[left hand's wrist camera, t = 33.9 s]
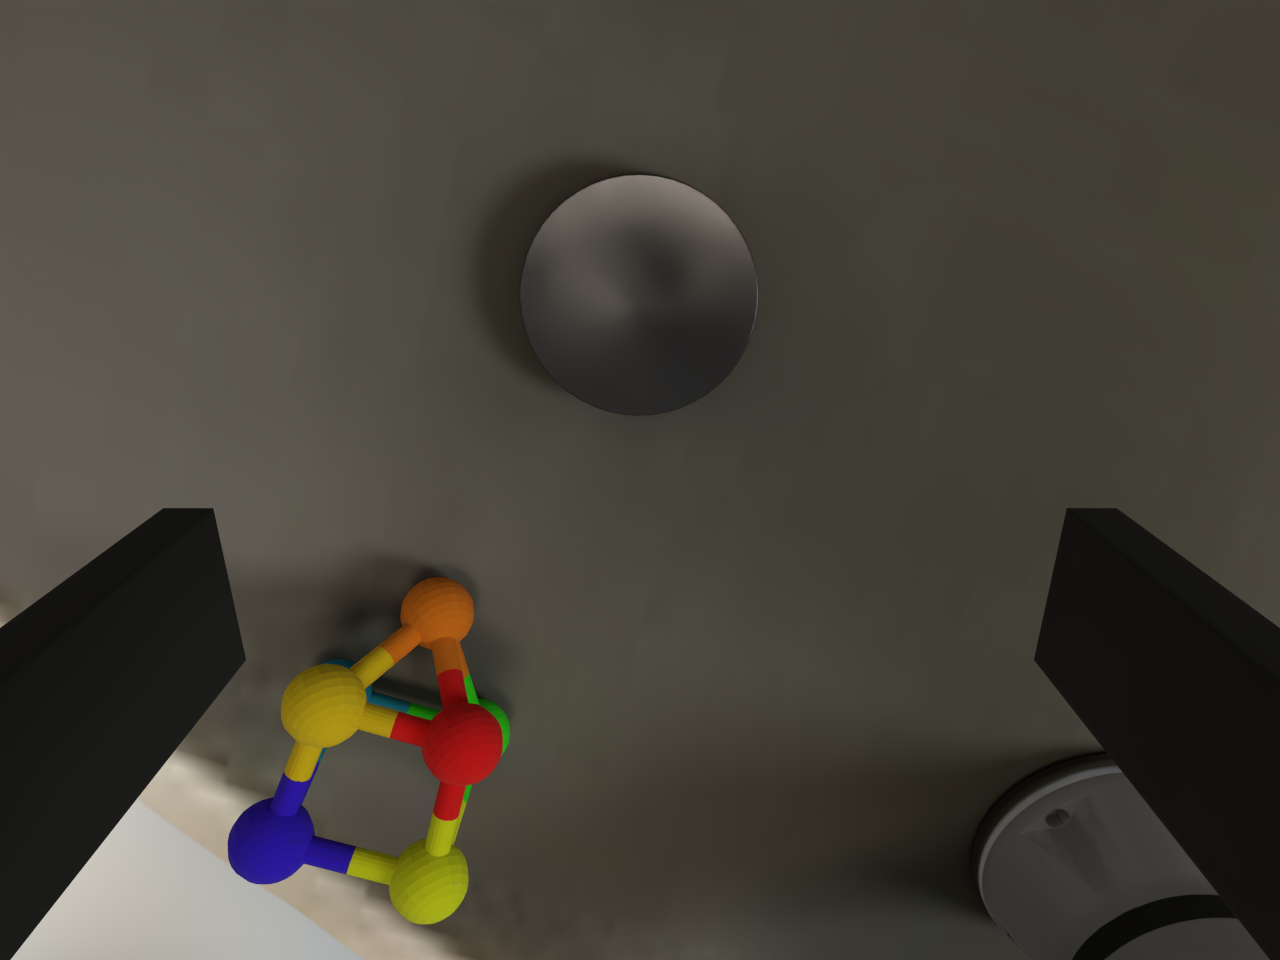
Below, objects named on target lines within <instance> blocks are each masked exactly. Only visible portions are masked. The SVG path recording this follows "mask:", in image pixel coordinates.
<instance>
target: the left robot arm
mask: <svg viewBox="0 0 1280 960" xmlns="http://www.w3.org/2000/svg"><path fill="white" fill-rule="evenodd" d="M245 660H246V658H245V653H244V649H243V644H242V639H241V635H240V630H239V625H238V621H237V616H236V612H235V607H234V602H233V598H232V593H231V589H230V584H229V579H228V575H227V570H226V565H225V561H224V556H223V552H222V547H221V542H220V538H219V533H218V528H217V524H216V519H215V515H214V510H213V508H163V509H162V510H160V511H159V512H158V513H156V514H155V515H154V516H152V517H151V518H150V519H148V520H147V521H145V522H144V523H143V524H141V525H140V526H139V527H137V528H136V529H135V530H133V531H132V532H130V533H129V534H128V535H126V536H125V537H124V538H122V539H121V540H120V541H118V542H117V543H115V544H114V545H113V546H111V547H110V548H109V549H107V550H106V551H105V552H103V553H102V554H100V555H99V556H98V557H96V558H95V559H94V560H92V561H91V562H90V563H88V564H87V565H86V566H84V567H83V568H81V569H80V570H79V571H77V572H76V573H75V574H73V575H72V576H71V577H69V578H68V579H66V580H65V581H64V582H62V583H61V584H60V585H58V586H57V587H56V588H54V589H53V590H51V591H50V592H49V593H47V594H46V595H45V596H43V597H42V598H41V599H39V600H38V601H36V602H35V603H34V604H32V605H31V606H30V607H28V608H27V609H26V610H24V611H23V612H21V613H20V614H19V615H17V616H16V617H15V618H13V619H12V620H11V621H9V622H8V623H6V624H5V625H4V626H2V627H1V628H0V960H10V959H11V958H12V957H13V956H14V954H15V953H16V952H17V950H18V949H19V948H20V947H21V945H22V944H23V943H24V942H25V940H26V939H27V938H28V937H29V935H30V934H31V933H32V931H33V930H34V929H35V928H36V926H37V925H38V924H39V923H40V921H41V920H42V919H43V917H44V916H45V915H46V914H47V912H48V911H49V910H50V909H51V907H52V906H53V905H54V903H55V902H56V901H57V900H58V898H59V897H60V896H61V895H62V893H63V892H64V891H65V889H66V888H67V887H68V886H69V884H70V883H71V882H72V880H73V879H74V878H75V877H76V875H77V874H78V873H79V872H80V870H81V869H82V868H83V867H84V865H85V864H86V863H87V861H88V860H89V859H90V858H91V856H92V855H93V854H94V852H95V851H96V850H97V849H98V847H99V846H100V845H101V844H102V842H103V841H104V840H105V839H106V837H107V836H108V835H109V833H110V832H111V831H112V830H113V828H114V827H115V826H116V825H117V823H118V822H119V821H120V819H121V818H122V817H123V816H124V814H125V813H126V812H127V811H128V809H129V808H130V807H131V805H132V804H133V803H134V802H135V800H136V799H137V798H138V797H139V795H140V794H141V793H142V791H143V790H144V789H145V788H146V786H147V785H148V784H149V783H150V781H151V780H152V779H153V777H154V776H155V775H156V774H157V772H158V771H159V770H160V769H161V767H162V766H163V765H164V763H165V762H166V761H167V760H168V758H169V757H170V756H171V755H172V753H173V752H174V751H175V749H176V748H177V747H178V746H179V744H180V743H181V742H182V741H183V739H184V738H185V737H186V735H187V734H188V733H189V732H190V730H191V729H192V728H193V727H194V725H195V724H196V723H197V721H198V720H199V719H200V718H201V716H202V715H203V714H204V713H205V711H206V710H207V709H208V707H209V706H210V705H211V704H212V702H213V701H214V700H215V699H216V697H217V696H218V695H219V693H220V692H221V691H222V690H223V688H224V687H225V686H226V685H227V683H228V682H229V681H230V679H231V678H232V677H233V676H234V674H235V673H236V672H237V671H238V669H239V668H240V667H241V665H242V664H243V663H244V662H245ZM1034 660H1035V662H1036V663H1037V664H1038V665H1039V667H1040V668H1041V669H1042V671H1043V672H1044V673H1045V674H1046V676H1047V677H1048V678H1049V679H1050V681H1051V682H1052V683H1053V685H1054V686H1055V687H1056V688H1057V690H1058V691H1059V692H1060V693H1061V695H1062V696H1063V697H1064V699H1065V700H1066V701H1067V702H1068V704H1069V705H1070V706H1071V707H1072V709H1073V710H1074V711H1075V713H1076V714H1077V715H1078V716H1079V718H1080V719H1081V720H1082V721H1083V723H1084V724H1085V725H1086V727H1087V728H1088V729H1089V730H1090V732H1091V733H1092V734H1093V735H1094V737H1095V738H1096V739H1097V741H1098V742H1099V743H1100V744H1101V746H1102V747H1103V748H1104V749H1105V751H1106V752H1107V753H1108V754H1097V755H1090V756H1085V757H1080V758H1076V759H1073V760H1069V761H1066V762H1063V763H1060V764H1057V765H1055V766H1052V767H1050V768H1048V769H1045V770H1043V771H1041V772H1039V773H1037V774H1035V775H1034V776H1032V777H1030V778H1028V779H1027V780H1025V781H1024V782H1022V783H1021V784H1019V785H1018V786H1016V787H1015V788H1014V789H1013V790H1011V791H1010V792H1009V793H1008V794H1007V795H1006V796H1004V797H1003V798H1002V799H1001V800H1000V801H999V802H998V803H997V804H996V806H995V807H994V808H993V809H992V810H991V812H990V813H989V814H988V816H987V817H986V819H985V820H984V822H983V823H982V825H981V827H980V829H979V831H978V833H977V836H976V839H975V842H974V845H973V850H972V858H971V866H972V874H973V878H974V881H975V885H976V887H977V889H978V891H979V893H980V895H981V898H982V900H983V902H984V904H985V906H986V908H987V910H988V912H989V914H990V916H991V917H992V919H993V920H994V921H995V922H996V923H997V925H998V926H999V928H1000V929H1001V930H1002V931H1003V932H1004V933H1005V934H1006V935H1007V936H1008V937H1009V938H1010V939H1011V940H1012V941H1013V942H1014V943H1015V944H1016V945H1018V946H1019V947H1020V948H1021V949H1022V951H1023V952H1024V953H1025V954H1026V955H1027V956H1028V957H1029V959H1030V960H1280V628H1279V627H1278V626H1276V625H1275V624H1274V623H1272V622H1271V621H1269V620H1268V619H1267V618H1265V617H1264V616H1263V615H1261V614H1260V613H1259V612H1257V611H1256V610H1254V609H1253V608H1252V607H1250V606H1249V605H1248V604H1246V603H1245V602H1244V601H1242V600H1241V599H1239V598H1238V597H1237V596H1235V595H1234V594H1233V593H1231V592H1230V591H1229V590H1227V589H1226V588H1224V587H1223V586H1222V585H1220V584H1219V583H1218V582H1216V581H1215V580H1214V579H1212V578H1211V577H1209V576H1208V575H1207V574H1205V573H1204V572H1203V571H1201V570H1200V569H1199V568H1197V567H1196V566H1194V565H1193V564H1192V563H1190V562H1189V561H1188V560H1186V559H1185V558H1184V557H1182V556H1181V555H1180V554H1178V553H1177V552H1175V551H1174V550H1173V549H1171V548H1170V547H1169V546H1167V545H1166V544H1165V543H1163V542H1162V541H1160V540H1159V539H1158V538H1156V537H1155V536H1154V535H1152V534H1151V533H1150V532H1148V531H1147V530H1145V529H1144V528H1143V527H1141V526H1140V525H1139V524H1137V523H1136V522H1135V521H1133V520H1132V519H1130V518H1129V517H1128V516H1126V515H1125V514H1124V513H1122V512H1121V511H1120V510H1118V509H1117V508H1067V510H1066V515H1065V519H1064V524H1063V528H1062V533H1061V538H1060V542H1059V547H1058V552H1057V556H1056V561H1055V565H1054V570H1053V575H1052V579H1051V584H1050V589H1049V593H1048V598H1047V602H1046V607H1045V612H1044V616H1043V621H1042V625H1041V630H1040V635H1039V639H1038V644H1037V649H1036V653H1035V658H1034Z"/></svg>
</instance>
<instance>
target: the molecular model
mask: <svg viewBox="0 0 1280 960" xmlns="http://www.w3.org/2000/svg"><path fill="white" fill-rule="evenodd" d="M400 620H401V623H402V627H401V628H399V629H398V630H397V631H396V632H394V633H393V634H392V635H391V636H389V637H388V638H387V639H386V640H384V641H383V642H382V643H381V644H379V645H378V646H377V647H376V648H374V649H373V650H372V651H371V652H369V653H368V654H367V655H366V656H364V657H363V658H362V659H361V660H359V661H358V662H357V663H355V662H353V661H351V660H344V659H334V660H329V661H326V662H324V663H322V664H320V665H315V666H312V667H310V668H308V669H305V670H304V671H302V672H301V673H300V674H298V675H297V676H296V677H295V678H294V679H293V680H292V681H291V682H290V684H289V685H288V687H287V688H286V690H285V692H284V694H283V696H282V702H281V719H282V723H283V725H284V727H285V729H286V730H287V731H288V732H289V734H290V735H291V736H292V737H293V738H294V739H295V740H296V742H295V744H294V747H293V749H292V752H291V755H290V757H289V760H288V762H287V765H286V767H285V770H284V772H283V775H282V778H281V780H280V783H279V785H278V788H277V790H276V793H275V795H274V798H269V799H265V800H262V801H260V802H257V803H255V804H254V805H252V806H251V807H249V808H248V809H247V810H245V811H244V812H243V813H242V814H241V815H240V817H239V818H238V819H237V821H236V822H235V824H234V825H233V827H232V829H231V831H230V833H229V838H228V858H229V862H230V864H231V867H232V868H233V869H234V871H235V872H236V873H237V874H238V875H240V876H241V877H243V878H244V879H246V880H247V881H249V882H251V883H255V884H272V883H277V882H280V881H282V880H284V879H286V878H288V877H289V876H291V875H293V874H294V873H295V872H296V871H297V870H298V869H299V868H300V867H301V866H302V865H303V864H308V865H312V866H315V867H319V868H323V869H327V870H331V871H335V872H339V873H343V874H347V875H351V876H355V877H359V878H363V879H367V880H371V881H375V882H379V883H383V884H387V885H389V894H390V898H391V901H392V903H393V905H394V907H395V909H396V910H397V911H398V912H399V913H400V914H401V915H402V916H403V917H404V918H406V919H407V920H409V921H410V922H413V923H416V924H433V923H436V922H439V921H441V920H443V919H445V918H446V917H448V916H449V915H451V914H452V913H453V912H454V911H455V910H456V909H457V908H458V906H459V905H460V903H461V902H462V900H463V899H464V896H465V894H466V892H467V888H468V882H469V881H468V866H467V863H466V859H465V857H464V855H463V854H462V852H461V851H460V850H459V849H458V848H457V847H456V846H455V845H454V842H455V839H456V836H457V832H458V829H459V826H460V823H461V819H462V816H463V813H464V810H465V806H466V803H467V800H468V797H469V793H470V790H471V787H472V784H475V783H477V782H479V781H481V780H483V779H484V778H486V777H487V776H488V775H489V774H490V773H491V772H492V771H493V770H494V768H495V767H496V765H497V763H498V762H499V759H500V757H501V756H502V754H503V753H504V751H505V750H506V748H507V745H508V743H509V739H510V724H509V720H508V717H507V715H506V714H505V712H504V711H503V710H502V709H501V708H500V707H499V706H497V705H496V704H495V703H494V702H492V701H490V700H487V699H479V698H477V695H476V692H475V689H474V686H473V683H472V680H471V676H470V673H469V670H468V667H467V664H466V661H465V657H464V654H463V651H462V648H461V645H460V641H461V640H462V639H463V638H464V637H465V636H466V635H467V633H468V632H469V630H470V628H471V626H472V624H473V620H474V607H473V601H472V598H471V596H470V594H469V593H468V592H467V591H466V590H465V588H464V587H463V586H462V585H461V584H459V583H458V582H457V581H454V580H451V579H448V578H444V577H435V578H428V579H426V580H423V581H421V582H419V583H418V584H416V585H415V586H414V587H412V588H411V590H410V591H409V592H408V594H407V595H406V597H405V598H404V600H403V603H402V608H401V619H400ZM417 645H420V646H422V647H425V648H427V649H432V652H433V658H434V663H435V669H436V674H437V680H438V685H439V690H440V696H441V701H442V707H443V710H442V711H440V710H436V709H432V708H429V707H425V706H422V705H418V704H415V703H411V702H408V701H404V700H401V699H397V698H393V697H390V696H386V695H383V694H379V693H376V692H373V687H372V683H373V682H374V681H375V680H377V679H378V678H379V677H380V676H381V675H383V674H384V673H385V672H386V671H387V670H389V669H390V668H391V667H392V666H393V665H395V664H396V663H397V662H398V661H399V660H401V659H402V658H403V657H404V656H405V655H407V654H408V653H409V652H410V651H411V650H413V649H414V648H415V647H416V646H417ZM357 729H359V730H362V731H366V732H369V733H373V734H377V735H380V736H384V737H388V738H391V739H395V740H398V741H402V742H406V743H409V744H413V745H417V746H420V747H422V754H423V758H424V761H425V763H426V764H427V766H428V768H429V769H430V771H431V772H432V774H433V775H434V776H435V777H436V778H437V779H438V780H440V785H439V789H438V793H437V797H436V801H435V805H434V809H433V813H432V817H431V821H430V825H429V830H428V834H427V838H426V839H422V840H419V841H417V842H415V843H413V844H411V845H410V846H409V847H407V848H406V849H405V850H404V851H403V852H402V853H401V855H400V856H399V857H395V856H391V855H387V854H383V853H379V852H375V851H371V850H368V849H364V848H360V847H356V846H352V845H348V844H344V843H340V842H336V841H333V840H329V839H325V838H321V837H317V836H314V835H315V833H314V826H313V823H312V820H311V818H310V816H309V813H308V811H307V810H306V809H305V808H304V807H303V806H302V803H303V800H304V798H305V796H306V793H307V791H308V789H309V787H310V784H311V782H312V780H313V777H314V775H315V773H316V770H317V768H318V766H319V764H320V761H321V759H322V757H323V754H324V752H325V750H326V747H331V746H334V745H337V744H340V743H341V742H343V741H345V740H346V739H348V738H350V737H351V736H352V735H353V734H354V733H355V732H356V731H357Z"/></svg>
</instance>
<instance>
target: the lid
mask: <svg viewBox="0 0 1280 960" xmlns="http://www.w3.org/2000/svg"><path fill="white" fill-rule="evenodd" d="M520 306H521V315H522V320H523V324H524V328H525V332H526V334H527V337H528V340H529V342H530V345H531V347H532V349H533V351H534V352H535V354H536V356H537V358H538V360H539V361H540V362H541V364H542V365H543V367H544V368H545V370H546V371H547V372H548V373H549V374H550V375H551V376H552V378H553V379H554V380H555V381H556V382H557V383H558V384H559V385H561V386H562V387H563V388H564V389H565V390H567V391H568V392H569V393H571V394H572V395H574V396H575V397H577V398H578V399H580V400H581V401H583V402H586V403H588V404H590V405H592V406H594V407H597V408H600V409H602V410H605V411H608V412H613V413H618V414H624V415H637V416H639V415H654V414H660V413H665V412H669V411H672V410H676V409H679V408H682V407H684V406H686V405H688V404H691V403H693V402H695V401H696V400H698V399H700V398H701V397H703V396H705V395H706V394H708V393H709V392H710V391H711V390H713V389H714V388H715V387H716V386H718V385H719V384H720V383H721V382H722V381H723V380H724V379H725V378H726V377H727V376H728V374H729V373H730V372H731V371H732V369H733V368H734V367H735V365H736V364H737V363H738V361H739V360H740V358H741V356H742V354H743V353H744V351H745V349H746V347H747V344H748V342H749V340H750V337H751V335H752V331H753V328H754V324H755V320H756V314H757V306H758V283H757V276H756V270H755V266H754V262H753V258H752V255H751V253H750V250H749V248H748V245H747V243H746V241H745V239H744V237H743V235H742V234H741V232H740V230H739V229H738V227H737V226H736V224H735V223H734V222H733V220H732V219H731V218H730V217H729V215H728V214H727V213H726V212H725V211H724V210H723V209H722V208H721V207H720V206H719V205H718V204H717V203H716V202H714V201H713V200H712V199H710V198H709V197H708V196H706V195H705V194H704V193H702V192H700V191H699V190H697V189H695V188H693V187H691V186H689V185H688V184H686V183H683V182H680V181H678V180H675V179H672V178H669V177H664V176H660V175H654V174H642V173H638V174H624V175H619V176H614V177H609V178H606V179H603V180H600V181H597V182H595V183H593V184H591V185H589V186H587V187H585V188H583V189H581V190H579V191H577V192H576V193H574V194H573V195H572V196H570V197H569V198H567V199H566V200H564V201H563V202H562V203H561V204H560V205H559V206H558V207H557V208H556V209H555V210H554V211H553V212H552V213H551V214H550V215H549V217H548V218H547V219H546V220H545V221H544V223H543V224H542V225H541V227H540V229H539V230H538V232H537V234H536V235H535V237H534V238H533V241H532V243H531V245H530V248H529V250H528V252H527V255H526V258H525V262H524V265H523V269H522V276H521V282H520Z"/></svg>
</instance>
